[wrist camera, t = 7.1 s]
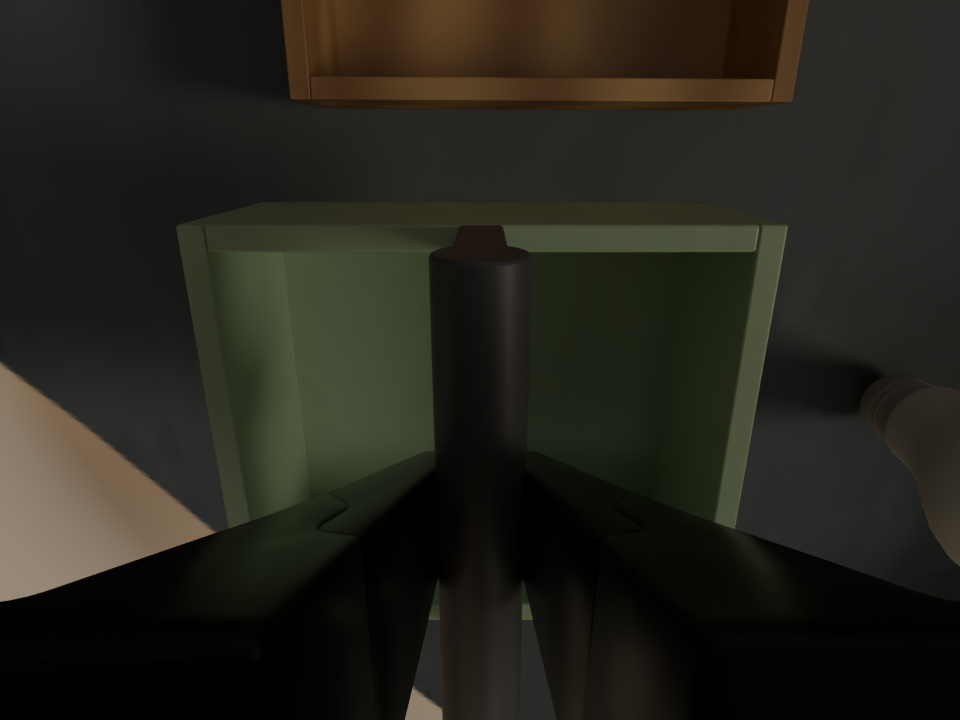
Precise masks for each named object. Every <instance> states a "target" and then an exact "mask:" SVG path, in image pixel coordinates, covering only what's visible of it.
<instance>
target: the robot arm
mask: <svg viewBox="0 0 960 720" xmlns="http://www.w3.org/2000/svg"><path fill="white" fill-rule="evenodd" d="M523 580H524V585H525V589H526V593H527V597H528V601H529V606H530V610H531V614H532V618H533V622H534V627H535V631H536V635H537V639H538V643H539V648H540V652H541V656H542V660H543V664H544V669H545V673H546V677H547V681H548V685H549V689H550V694H551V698H552V702H553V706H554V710H555V715H556V719H557V720H960V601H954V600H949V599H944V598H940V597H935V596H931V595H928V594H924V593H921V592H918V591H915V590H912V589H909V588H906V587H903V586H900V585H897V584H894V583H891V582H888V581H885V580H882V579H880V578H877V577H874V576H871V575H868V574H865V573H862V572H859V571H856V570H853V569H850V568H847V567H844V566H841V565H839V564H836V563H833V562H830V561H827V560H824V559H821V558H818V557H815V556H812V555H809V554H806V553H803V552H800V551H798V550H795V549H792V548H789V547H786V546H783V545H780V544H777V543H774V542H771V541H768V540H765V539H762V538H759V537H757V536H754V535H751V534H748V533H745V532H742V531H739V530H736V529H733V528H730V527H727V526H724V525H721V524H718V523H716V522H713V521H710V520H707V519H704V518H701V517H698V516H695V515H692V514H689V513H687V512H684V511H681V510H678V509H676V508H673V507H670V506H667V505H665V504H662V503H660V502H657V501H655V500H652V499H650V498H647V497H645V496H642V495H640V494H638V493H633V492H631V491H629V490H626V489H624V488H622V487H619V486H617V485H614V484H612V483H610V482H607V481H605V480H603V479H600V478H598V477H596V476H593V475H591V474H589V473H586V472H584V471H581V470H579V469H577V468H574V467H572V466H570V465H567V464H565V463H563V462H560V461H558V460H556V459H553V458H551V457H548V456H546V455H544V454H541V453H539V452H537V451H527V464H526V495H525V528H524V561H523ZM437 581H438V549H437V516H436V483H435V452H434V451H424V452H422V453H420V454H417V455H415V456H413V457H410V458H408V459H406V460H403V461H401V462H399V463H396V464H394V465H392V466H389V467H387V468H384V469H382V470H380V471H377V472H375V473H373V474H370V475H368V476H366V477H363V478H361V479H359V480H356V481H354V482H352V483H349V484H347V485H345V486H342V487H340V488H338V489H335V490H333V491H331V492H329V493H324V494H322V495H319V496H317V497H314V498H312V499H309V500H307V501H304V502H302V503H299V504H297V505H294V506H292V507H289V508H286V509H283V510H281V511H278V512H275V513H272V514H270V515H267V516H264V517H261V518H258V519H255V520H252V521H249V522H246V523H243V524H240V525H238V526H235V527H232V528H229V529H226V530H223V531H220V532H217V533H214V534H211V535H208V536H206V537H203V538H200V539H197V540H194V541H191V542H188V543H185V544H182V545H179V546H176V547H173V548H171V549H168V550H165V551H162V552H159V553H156V554H153V555H150V556H147V557H144V558H141V559H138V560H135V561H132V562H130V563H127V564H124V565H121V566H118V567H115V568H112V569H109V570H106V571H103V572H100V573H98V574H95V575H92V576H89V577H86V578H83V579H80V580H77V581H74V582H71V583H68V584H66V585H62V586H60V587H57V588H54V589H51V590H48V591H45V592H42V593H38V594H35V595H31V596H28V597H23V598H19V599H14V600H9V601H2V602H0V720H405V716H406V712H407V708H408V704H409V700H410V695H411V691H412V687H413V683H414V678H415V674H416V670H417V666H418V661H419V657H420V653H421V649H422V645H423V640H424V636H425V632H426V628H427V623H428V619H429V615H430V611H431V606H432V602H433V598H434V594H435V589H436V585H437Z"/></svg>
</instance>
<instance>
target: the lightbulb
mask: <svg viewBox="0 0 960 720" xmlns="http://www.w3.org/2000/svg"><path fill="white" fill-rule="evenodd" d="M860 413H861V416H862V418H863V420H864V421H865V422H866V423H867V424H868V425H869V426H870V427H871V428H872V429H873V430H874V431H875V432H877V433H878V434H879V435H880V436H881V437H882V438H884V439H885V440H886V443H887V445H888V447H889V448H890V450H891V452H892V453H893V454H894V455H896V456H897V457H898V458H899V459H900V460H901V461H902V462H903V463H904V464H905V465H906V466H907V467H908V469H909V470H910V471H911V472H912V474H913V475H914V477H915V479H916V481H917V484H918V490H919V495H920V498H921V502H922V505H923V508H924V511H925V514H926V517H927V520H928V523H929V526H930V529H931V531H932V532H933V534H934V535H935V537H936V538H937V540H938V541H939V543H940V544H941V546H942V547H943V549H944V550H945V552H946V553H947V554H948V556H949V557H950V558H951V559H952V560H953V561H954V562H955V563H957V564H958V565H959V566H960V392H959V391H957V390H954V389H951V388H947V387H938V386H937V387H935V386H933V385H931V384H928V383H926V382H925V381H922V380H919V379H918V378H915V377H912V376H909V375H906V374H891V375H887V376H884V377H882V378H880V379H878V380H876V381H875V382H873V383H872V384H871V385H870V386H869V387H868V388H867V389H866V391H865V392H864V394H863V396H862V399H861V403H860Z"/></svg>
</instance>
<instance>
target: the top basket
mask: <svg viewBox="0 0 960 720" xmlns="http://www.w3.org/2000/svg"><path fill="white" fill-rule="evenodd" d="M787 229H788V226H787V225H785V224H782V223H778V222H774V221H771V220H767V219H763V218H759V217H756V216H752V215H748V214H745V213H741V212H737V211H733V210H730V209H726V208H722V207H718V206H715V205H711V204H707V203H704V202H261V203H257V204H254V205H250V206H246V207H242V208H239V209H235V210H231V211H227V212H224V213H220V214H216V215H212V216H209V217H205V218H201V219H197V220H194V221H190V222H186V223H183V224H179V225H177V226H176V230H177V236H178V241H179V247H180V253H181V258H182V264H183V270H184V275H185V281H186V287H187V293H188V298H189V304H190V310H191V315H192V321H193V327H194V333H195V338H196V344H197V350H198V355H199V361H200V367H201V372H202V378H203V384H204V390H205V395H206V401H207V407H208V412H209V418H210V424H211V430H212V435H213V441H214V447H215V452H216V458H217V464H218V469H219V475H220V481H221V487H222V492H223V498H224V504H225V509H226V515H227V521H228V527H229V528H232V527H235V526H238V525H240V524H243V523H246V522H249V521H252V520H255V519H258V518H261V517H264V516H267V515H270V514H272V513H275V512H278V511H281V510H283V509H286V508H289V507H292V506H294V505H297V504H299V503H302V502H304V501H307V500H309V499H312V498H314V497H317V496H319V495H322V494H324V493H329V492H331V491H333V490H335V489H338V488H340V487H342V486H345V485H347V484H349V483H352V482H354V481H356V480H359V479H361V478H363V477H366V476H368V475H370V474H373V473H375V472H377V471H380V470H382V469H384V468H387V467H389V466H392V465H394V464H396V463H399V462H401V461H403V460H406V459H408V458H410V457H413V456H415V455H417V454H420V453H422V452H424V451H434V452H435V483H436V516H437V549H438V581H437V585H436V589H435V594H434V598H433V602H432V606H431V611H430V615H429V619H440V647H441V679H442V712H443V720H519V697H520V663H521V630H522V620H533V618H532V614H531V610H530V606H529V601H528V597H527V593H526V589H525V585H524V580H523V561H524V528H525V495H526V464H527V451H537V452H539V453H541V454H544V455H546V456H548V457H551V458H553V459H556V460H558V461H560V462H563V463H565V464H567V465H570V466H572V467H574V468H577V469H579V470H581V471H584V472H586V473H589V474H591V475H593V476H596V477H598V478H600V479H603V480H605V481H607V482H610V483H612V484H614V485H617V486H619V487H622V488H624V489H626V490H629V491H631V492H633V493H638V494H640V495H642V496H645V497H647V498H650V499H652V500H655V501H657V502H660V503H662V504H665V505H667V506H670V507H673V508H676V509H678V510H681V511H684V512H687V513H689V514H692V515H695V516H698V517H701V518H704V519H707V520H710V521H713V522H716V523H718V524H721V525H724V526H727V527H730V528H733V529H735V524H736V518H737V513H738V507H739V501H740V496H741V490H742V484H743V479H744V473H745V467H746V462H747V456H748V450H749V445H750V439H751V433H752V427H753V422H754V416H755V410H756V405H757V399H758V393H759V388H760V382H761V376H762V371H763V365H764V359H765V354H766V348H767V342H768V337H769V331H770V325H771V320H772V314H773V308H774V302H775V297H776V291H777V285H778V280H779V274H780V268H781V263H782V257H783V251H784V246H785V240H786V234H787Z"/></svg>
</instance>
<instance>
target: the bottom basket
mask: <svg viewBox="0 0 960 720" xmlns="http://www.w3.org/2000/svg"><path fill="white" fill-rule="evenodd" d="M808 4H809V0H281V10H282V20H283V31H284V41H285V51H286V62H287V72H288V82H289V93H290V98H291V99H292V100H296V101H301V102H305V103H309V104H314V105H318V106H322V107H327V108H403V109H583V110H735V109H742V108H750V107H757V106H765V105H773V104H780V103H788V102H791V101H792V97H793V91H794V86H795V80H796V74H797V68H798V62H799V57H800V51H801V45H802V39H803V33H804V27H805V22H806V16H807V10H808Z"/></svg>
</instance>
